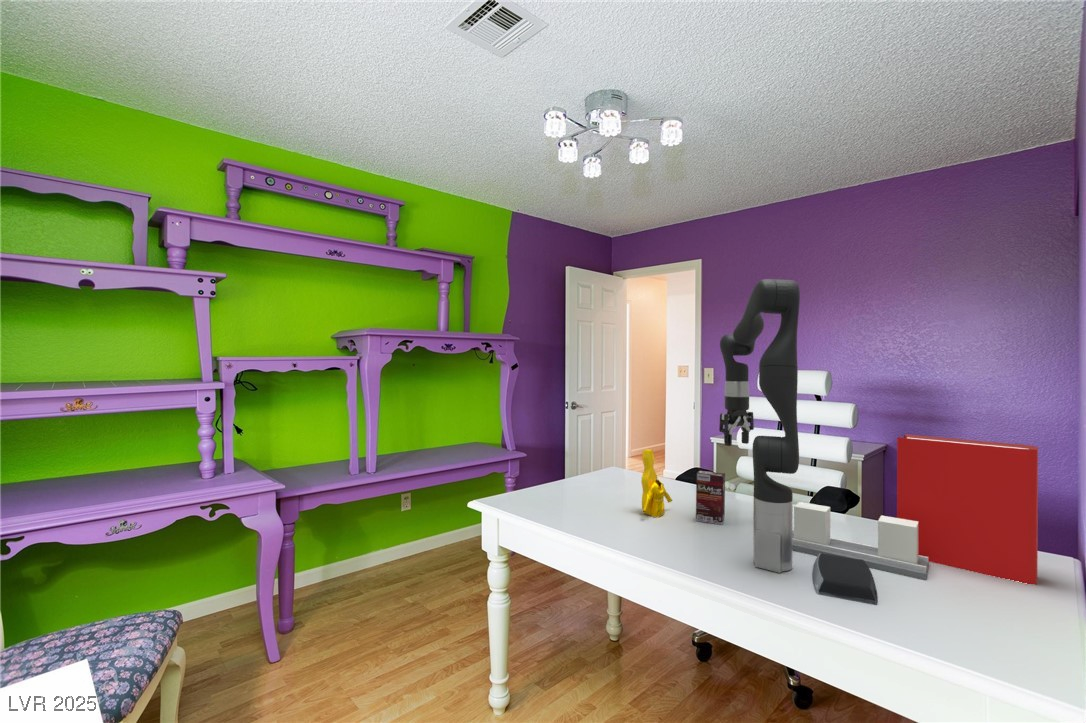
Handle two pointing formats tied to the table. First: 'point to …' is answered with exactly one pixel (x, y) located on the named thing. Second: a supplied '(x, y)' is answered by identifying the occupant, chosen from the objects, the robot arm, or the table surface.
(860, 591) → the external hard drive
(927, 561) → the board
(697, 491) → the supplement box
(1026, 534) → the book
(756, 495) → the robot arm
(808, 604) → the table surface
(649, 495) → the figure statuette
